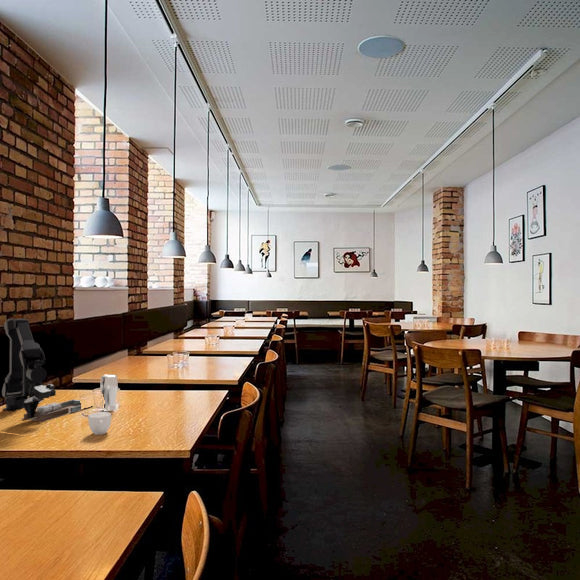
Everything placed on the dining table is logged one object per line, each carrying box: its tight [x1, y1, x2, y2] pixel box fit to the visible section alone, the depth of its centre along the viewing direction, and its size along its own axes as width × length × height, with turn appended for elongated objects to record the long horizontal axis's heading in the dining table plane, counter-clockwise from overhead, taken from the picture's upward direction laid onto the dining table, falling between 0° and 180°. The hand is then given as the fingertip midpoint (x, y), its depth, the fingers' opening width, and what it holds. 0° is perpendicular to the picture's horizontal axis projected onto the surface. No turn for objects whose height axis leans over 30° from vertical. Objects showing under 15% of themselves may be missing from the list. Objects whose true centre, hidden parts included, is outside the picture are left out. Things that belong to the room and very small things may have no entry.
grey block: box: [47, 402, 62, 412], centre depth 198 cm, size 4×4×4 cm
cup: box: [87, 411, 112, 436], centre depth 172 cm, size 8×10×7 cm
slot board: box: [21, 399, 82, 423], centre depth 200 cm, size 12×26×2 cm, turn 158°
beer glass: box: [99, 373, 119, 412], centre depth 205 cm, size 7×7×15 cm
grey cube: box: [36, 404, 52, 417], centre depth 194 cm, size 4×4×4 cm
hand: (31, 417), depth 188 cm, fingers closed
